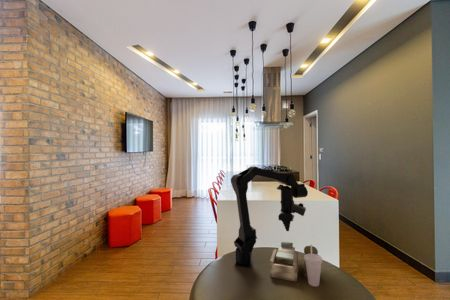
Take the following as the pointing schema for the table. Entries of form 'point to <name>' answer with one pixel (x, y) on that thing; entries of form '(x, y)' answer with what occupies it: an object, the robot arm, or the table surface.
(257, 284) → the table surface
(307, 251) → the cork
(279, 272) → the box
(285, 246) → the lid
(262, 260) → the table surface
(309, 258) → the smoothie
